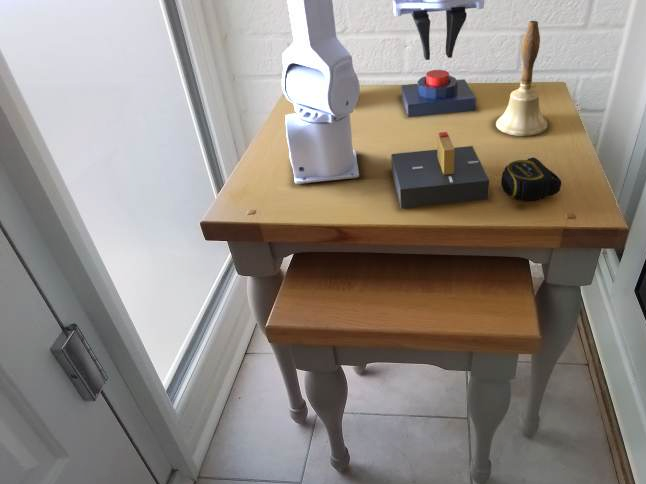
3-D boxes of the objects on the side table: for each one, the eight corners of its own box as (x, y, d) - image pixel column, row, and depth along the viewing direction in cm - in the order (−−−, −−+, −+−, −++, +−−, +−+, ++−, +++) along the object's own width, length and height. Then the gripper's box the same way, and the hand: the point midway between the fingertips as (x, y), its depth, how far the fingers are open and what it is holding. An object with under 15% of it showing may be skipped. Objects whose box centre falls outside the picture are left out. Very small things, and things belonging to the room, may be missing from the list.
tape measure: (561, 200, 72) (566, 176, 69) (514, 211, 70) (518, 186, 68) (535, 176, 77) (538, 152, 74) (491, 186, 75) (493, 162, 73)
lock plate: (400, 208, 72) (400, 188, 70) (392, 172, 80) (391, 152, 78) (488, 199, 73) (489, 179, 71) (471, 164, 80) (472, 144, 78)
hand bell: (486, 121, 91) (494, 20, 80) (526, 110, 93) (539, 11, 82) (515, 141, 85) (527, 34, 74) (557, 129, 87) (575, 24, 77)
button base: (408, 116, 94) (407, 94, 91) (401, 96, 100) (400, 75, 98) (475, 110, 94) (476, 87, 92) (464, 90, 101) (465, 69, 98)
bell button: (428, 89, 93) (428, 79, 92) (424, 80, 96) (424, 70, 95) (450, 86, 94) (451, 76, 92) (446, 78, 97) (446, 68, 95)
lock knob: (453, 173, 72) (454, 147, 70) (443, 174, 72) (444, 148, 70) (447, 156, 76) (447, 131, 74) (437, 157, 76) (437, 132, 74)
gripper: (478, -43, 86) (473, 45, 95) (389, -35, 85) (393, 53, 95) (490, -34, 81) (483, 59, 90) (395, -26, 80) (398, 66, 89)
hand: (437, 56), depth 92 cm, fingers open, 3 cm apart
